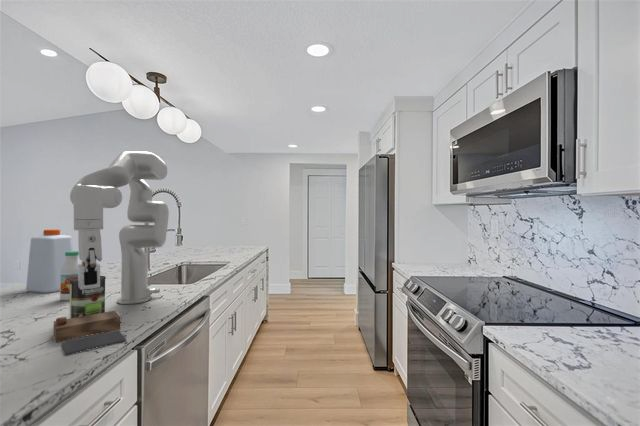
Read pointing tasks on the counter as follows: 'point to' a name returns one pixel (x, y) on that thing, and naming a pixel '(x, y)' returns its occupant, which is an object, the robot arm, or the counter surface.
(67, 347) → the rubber mat
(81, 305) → the coffee can
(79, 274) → the lever cap
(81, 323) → the brown knobbed block
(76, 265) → the milk bottle
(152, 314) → the counter surface
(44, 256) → the plastic bottle
